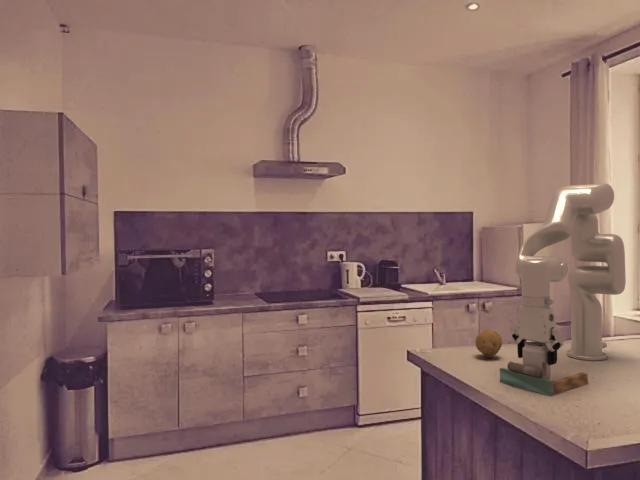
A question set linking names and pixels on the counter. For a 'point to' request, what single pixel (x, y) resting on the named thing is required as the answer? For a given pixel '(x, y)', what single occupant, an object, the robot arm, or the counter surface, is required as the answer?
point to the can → (536, 356)
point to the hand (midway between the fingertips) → (536, 360)
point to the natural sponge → (488, 342)
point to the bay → (539, 379)
